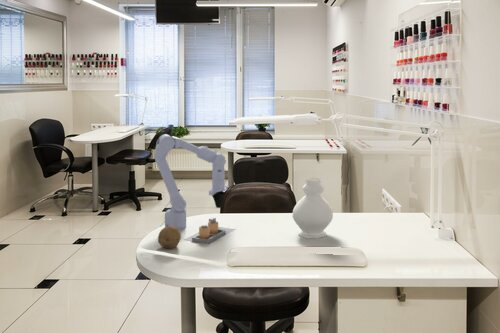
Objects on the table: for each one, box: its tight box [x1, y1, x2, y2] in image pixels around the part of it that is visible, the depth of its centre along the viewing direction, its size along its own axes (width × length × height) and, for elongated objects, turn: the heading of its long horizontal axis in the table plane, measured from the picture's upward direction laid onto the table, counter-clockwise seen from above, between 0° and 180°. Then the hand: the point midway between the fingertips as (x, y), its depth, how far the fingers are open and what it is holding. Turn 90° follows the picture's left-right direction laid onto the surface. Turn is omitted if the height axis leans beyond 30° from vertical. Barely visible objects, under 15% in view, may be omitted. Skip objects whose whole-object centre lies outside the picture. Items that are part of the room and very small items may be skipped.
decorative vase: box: [292, 177, 334, 239], centre depth 234 cm, size 18×18×25 cm
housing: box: [183, 226, 236, 245], centre depth 231 cm, size 12×24×3 cm, turn 154°
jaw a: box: [198, 224, 210, 239], centre depth 223 cm, size 4×4×6 cm
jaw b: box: [207, 220, 219, 234], centre depth 230 cm, size 4×4×6 cm
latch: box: [208, 217, 217, 222], centre depth 242 cm, size 2×3×4 cm, turn 154°
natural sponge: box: [157, 226, 181, 250], centre depth 213 cm, size 9×9×10 cm
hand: (218, 207), depth 247 cm, fingers closed
